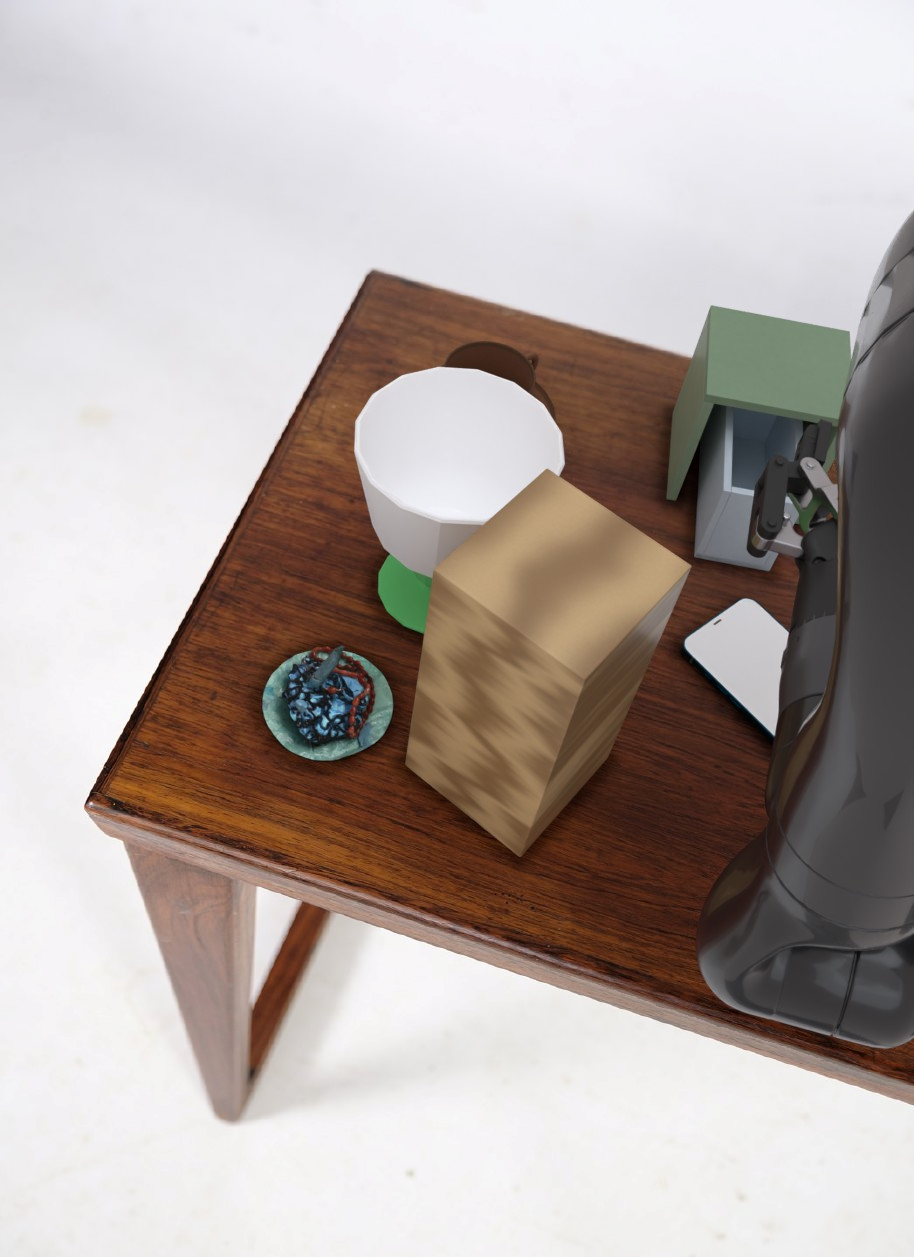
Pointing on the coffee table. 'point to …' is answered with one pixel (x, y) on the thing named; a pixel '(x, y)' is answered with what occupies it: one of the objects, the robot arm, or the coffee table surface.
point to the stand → (535, 655)
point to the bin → (737, 480)
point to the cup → (444, 469)
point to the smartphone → (742, 660)
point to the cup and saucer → (502, 366)
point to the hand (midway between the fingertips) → (887, 452)
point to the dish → (327, 704)
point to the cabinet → (758, 378)
